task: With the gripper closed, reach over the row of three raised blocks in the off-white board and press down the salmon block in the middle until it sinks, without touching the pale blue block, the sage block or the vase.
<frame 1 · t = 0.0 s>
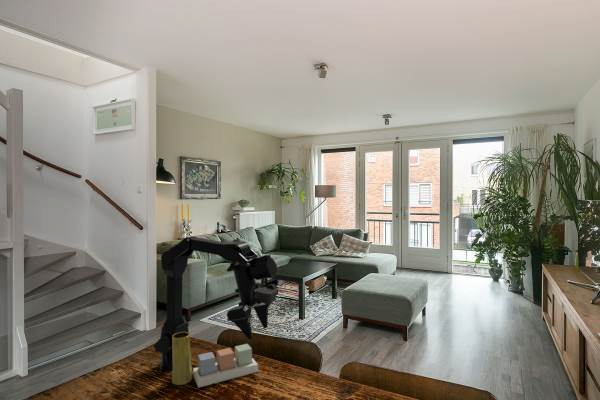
hand: (258, 333, 106), 15 cm above the table, tool pointing down, fingers open, 9 cm apart
button board: (225, 373, 113), on the table
salmon block: (225, 359, 112), point 5 cm above the table, slide at 0.0 cm
pale blue block: (206, 364, 110), point 5 cm above the table, slide at 0.0 cm
vase: (182, 380, 109), on the table
sage button: (243, 355, 115), point 5 cm above the table, slide at 0.0 cm
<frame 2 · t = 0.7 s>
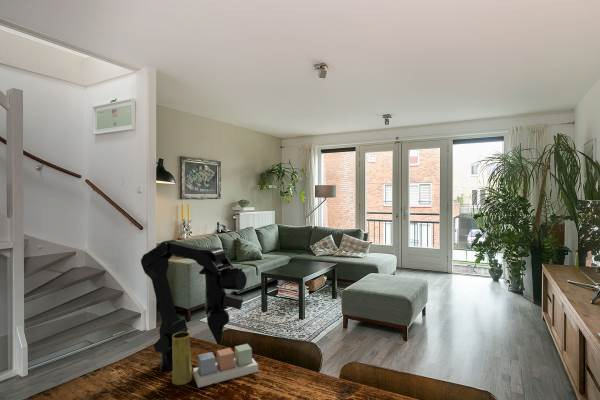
hand: (217, 337, 110), 13 cm above the table, tool pointing down, fingers open, 9 cm apart
nothing on the table moved.
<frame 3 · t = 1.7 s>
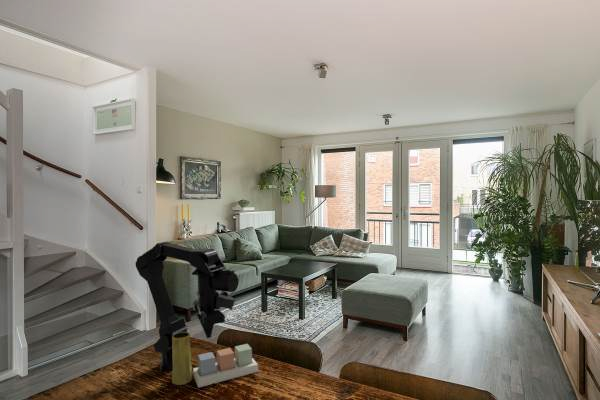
hand: (208, 337, 112), 12 cm above the table, tool pointing down, fingers closed
nothing on the table moved.
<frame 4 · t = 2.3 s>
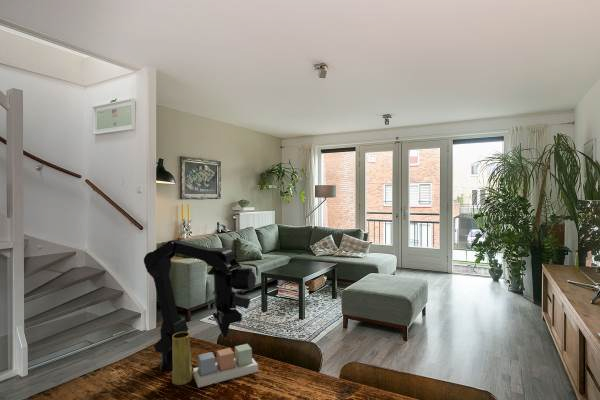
hand: (224, 336, 112), 12 cm above the table, tool pointing down, fingers closed
nothing on the table moved.
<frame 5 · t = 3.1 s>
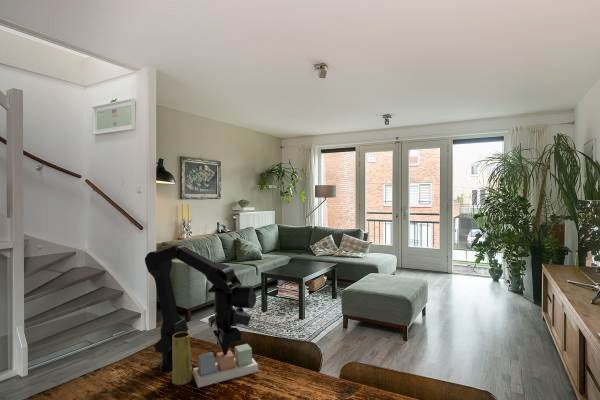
hand: (225, 354, 112), 6 cm above the table, tool pointing down, fingers closed, pressing on salmon block
salmon block: (225, 361, 112), point 4 cm above the table, slide at 0.8 cm, touching gripper
everything else where it was.
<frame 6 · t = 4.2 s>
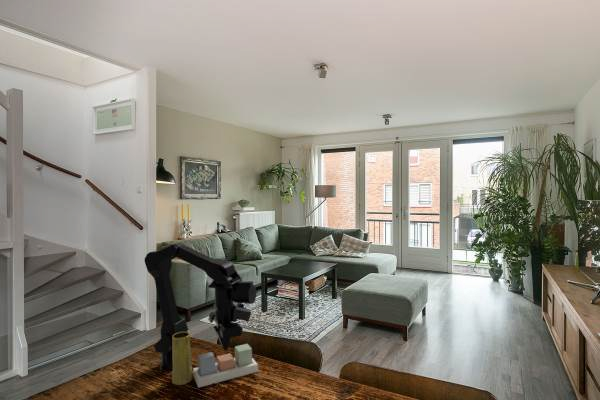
hand: (225, 349, 112), 8 cm above the table, tool pointing down, fingers closed
salmon block: (225, 365, 113), point 3 cm above the table, slide at 1.8 cm
everything else where it was.
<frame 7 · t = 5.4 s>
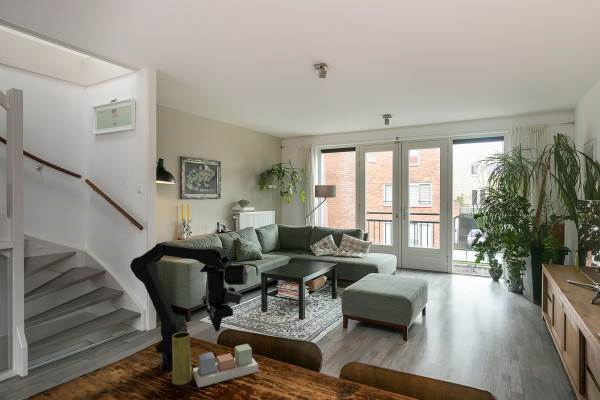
hand: (217, 331, 117), 12 cm above the table, tool pointing down, fingers closed
nothing on the table moved.
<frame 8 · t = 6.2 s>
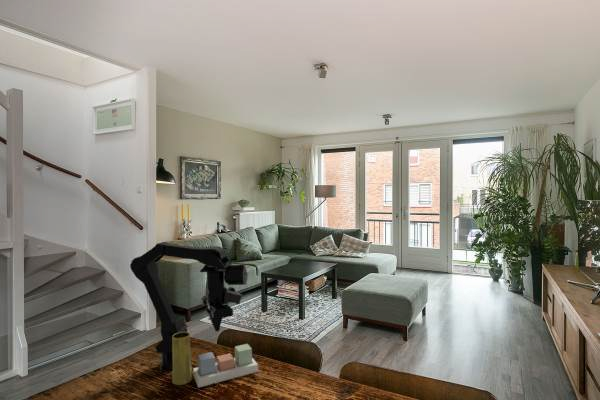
hand: (217, 331, 117), 12 cm above the table, tool pointing down, fingers closed
nothing on the table moved.
at the end: salmon block slide at 1.8 cm; pale blue block slide at 0.0 cm; sage button slide at 0.0 cm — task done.
